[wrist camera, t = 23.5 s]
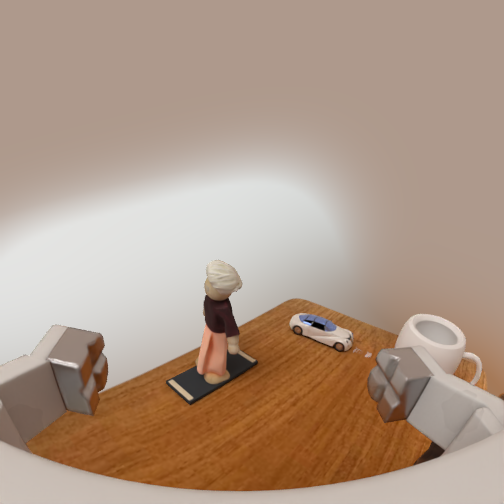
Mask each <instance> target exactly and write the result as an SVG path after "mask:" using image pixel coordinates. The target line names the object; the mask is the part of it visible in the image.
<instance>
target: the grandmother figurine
mask: <svg viewBox="0 0 504 504" xmlns="http://www.w3.org/2000/svg"><path fill="white" fill-rule="evenodd" d="M206 274H207V276H208V277H207V279H206V281H205V292H206V294H207V295H206V296H205V301H204V310H203V314H204V316H205V321H206V326H205V329H204V334H203V339H202V344H201V348H200V353H199V357H198V358H197V359H196V365H197V371H198V373H199V374H201V375H203V374H204V379H205V380H206V382H208V383H209V384H218V383H221V382H223V381H225V380H227V379H229V378H230V374H229V372H228V371H227V370H226V356H227V342H228V345H229V346H228V352H229V353H230V354H233V355H235V354H237V353H238V352H239V346H238V343H239V334H240V333H239V330H238V327H237V324H236V322H235V319H234V316H233V314H232V307H231V303H230V301H229V298H228V297H229V296H230V295H231V293H232V292H234V291H236V292H237V290H238V289H240V288H241V287H242V281H241V279H240V276H239V275H238V273H237V271H236V270H235V268H233V267H232V266H231V265H229V264H227V263H225V262H223V261H220V260H215V261H212V262H210V263H209V264H208V265H207V268H206Z"/></svg>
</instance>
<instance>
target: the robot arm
mask: <svg viewBox="0 0 504 504" xmlns="http://www.w3.org/2000/svg"><path fill="white" fill-rule="evenodd" d="M104 346H105V345H104V340H103V336H102V335H101V334H100V333H96V332H91V331H86V330H81V329H76V328H71V327H70V328H69V327H66V326H61V325H53V326H52V327H51V328H50V329H49V331H48V332H47V333H46V334H45V336H44V337H43V338H42V340H41V341H40V342H39V344H38V345H37V346H36V348H35V349H34V350H33V352H32V353H31V354H30V356H28V355H23V356H21V357H19V358H17V359H14V360H12V361H10V362H7V363H5V364H3V365H1V366H0V504H504V401H503V400H502V399H501V398H499V397H497V396H495V395H492V394H490V393H488V392H486V391H484V390H482V389H480V388H478V387H476V386H474V385H472V384H470V383H468V382H466V381H464V380H462V379H460V378H458V377H456V376H454V375H452V374H450V373H449V374H446V373H445V371H444V370H443V369H442V368H441V367H440V365H439V364H438V363H437V362H436V361H435V360H434V358H433V357H432V356H431V355H430V354H429V353H428V351H427V350H426V349H425V348H424V347H422V346H420V345H419V346H410V347H405V348H391V349H381V351H380V352H379V353H378V355H377V357H376V362H377V366H376V367H374V368H373V369H372V370H371V372H370V374H369V377H368V385H367V387H368V392H369V394H370V396H371V398H372V399H373V400H375V401H376V402H378V405H377V410H378V412H379V414H380V416H381V417H382V419H383V421H384V423H387V422H393V421H399V420H405V419H407V420H406V421H407V422H409V423H410V424H411V425H413V426H414V427H415V428H416V429H418V430H419V431H420V432H422V433H423V434H424V435H425V436H427V437H428V438H429V439H431V440H432V441H433V442H434V443H436V444H437V445H438V446H440V447H441V448H442V449H444V450H445V452H444V453H443V454H442V455H441V456H440V457H438V458H435V459H432V460H430V461H427V462H423V463H420V464H417V465H414V466H411V467H407V468H404V469H400V470H397V471H393V472H389V473H385V474H381V475H377V476H372V477H368V478H363V479H358V480H353V481H348V482H342V483H336V484H330V485H323V486H315V487H307V488H297V489H285V490H269V491H210V490H194V489H182V488H172V487H164V486H157V485H150V484H143V483H137V482H132V481H126V480H121V479H117V478H112V477H107V476H103V475H99V474H95V473H91V472H87V471H84V470H80V469H76V468H73V467H70V466H66V465H63V464H60V463H57V462H54V461H51V460H48V459H45V458H43V457H40V456H37V455H34V454H32V453H31V451H30V450H29V448H28V446H27V445H26V443H27V442H28V441H29V440H31V439H32V438H33V437H34V436H36V435H37V434H38V433H40V432H41V431H42V430H44V429H45V428H46V427H47V426H49V425H50V424H51V423H53V422H54V421H55V420H57V419H58V418H59V417H60V416H62V415H63V414H64V413H66V412H67V411H66V410H68V411H72V412H77V413H81V414H86V415H91V416H94V413H95V411H96V408H97V406H98V403H99V400H100V398H99V394H98V392H99V391H101V390H103V389H104V387H105V385H106V382H107V375H108V363H107V358H106V357H105V356H104V354H103V353H102V350H103V348H104Z"/></svg>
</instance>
